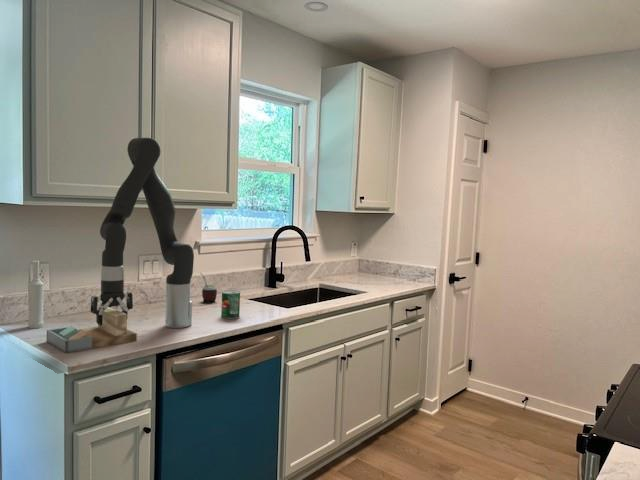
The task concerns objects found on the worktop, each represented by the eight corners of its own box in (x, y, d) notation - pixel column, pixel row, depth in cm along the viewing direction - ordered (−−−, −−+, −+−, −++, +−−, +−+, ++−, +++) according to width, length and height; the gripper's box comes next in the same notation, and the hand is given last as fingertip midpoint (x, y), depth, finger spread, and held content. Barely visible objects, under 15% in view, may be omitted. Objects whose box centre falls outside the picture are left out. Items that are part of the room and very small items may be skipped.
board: (114, 330, 187) (114, 324, 187) (136, 340, 175) (136, 333, 175) (71, 337, 175) (71, 330, 175) (92, 348, 164) (92, 341, 164)
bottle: (46, 325, 190) (46, 260, 188) (39, 328, 185) (39, 262, 183) (32, 324, 190) (32, 260, 188) (25, 328, 185) (25, 261, 183)
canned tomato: (217, 317, 215) (218, 292, 214) (228, 313, 222) (229, 289, 221) (232, 319, 212) (232, 294, 211) (243, 316, 219) (243, 291, 218)
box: (71, 337, 175) (71, 326, 175) (92, 348, 164) (92, 336, 164) (46, 341, 169) (46, 330, 169) (65, 353, 158) (65, 341, 158)
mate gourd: (217, 301, 249) (218, 271, 248) (214, 304, 241) (214, 273, 240) (203, 300, 249) (204, 270, 248) (198, 303, 241) (199, 272, 240)
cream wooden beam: (109, 326, 183) (109, 307, 183) (126, 333, 174) (127, 314, 173) (98, 327, 181) (98, 308, 180) (115, 335, 171) (115, 315, 171)
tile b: (84, 336, 168) (81, 330, 167) (89, 339, 165) (86, 333, 164) (71, 344, 165) (68, 338, 164) (77, 347, 162) (73, 341, 161)
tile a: (74, 331, 174) (70, 325, 173) (79, 334, 171) (76, 328, 170) (61, 338, 171) (58, 333, 170) (66, 341, 168) (63, 335, 167)
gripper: (126, 275, 184) (126, 318, 185) (87, 278, 173) (87, 324, 174) (136, 277, 179) (136, 322, 180) (96, 281, 168) (96, 328, 169)
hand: (112, 323), depth 177 cm, fingers open, 8 cm apart
